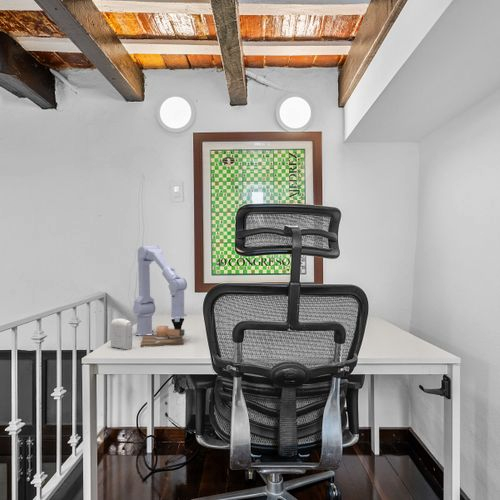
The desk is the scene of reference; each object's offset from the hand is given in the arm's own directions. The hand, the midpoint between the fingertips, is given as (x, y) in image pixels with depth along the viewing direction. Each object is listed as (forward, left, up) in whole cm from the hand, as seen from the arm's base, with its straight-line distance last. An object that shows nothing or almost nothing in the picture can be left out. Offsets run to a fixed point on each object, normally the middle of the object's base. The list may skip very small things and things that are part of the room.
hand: (177, 334), depth 176 cm
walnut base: (-2, -7, -3) cm, 8 cm away
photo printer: (+6, -24, -3) cm, 25 cm away
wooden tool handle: (0, -3, 0) cm, 3 cm away
